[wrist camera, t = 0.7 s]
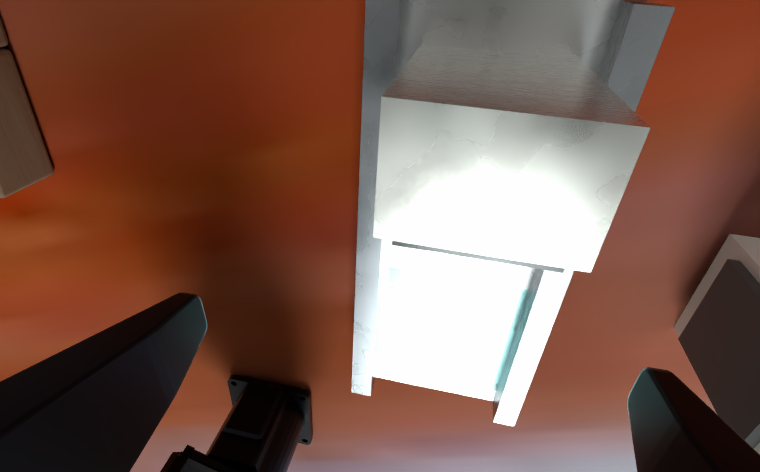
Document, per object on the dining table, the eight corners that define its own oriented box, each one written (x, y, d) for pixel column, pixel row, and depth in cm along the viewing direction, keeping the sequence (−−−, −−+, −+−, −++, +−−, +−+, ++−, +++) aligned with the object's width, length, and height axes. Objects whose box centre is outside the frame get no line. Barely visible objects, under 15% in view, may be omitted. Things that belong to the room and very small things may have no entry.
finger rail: (511, 385, 28) (523, 551, 20) (362, 355, 29) (317, 499, 21) (646, 0, 16) (807, 36, 8) (381, -21, 17) (296, -7, 9)
